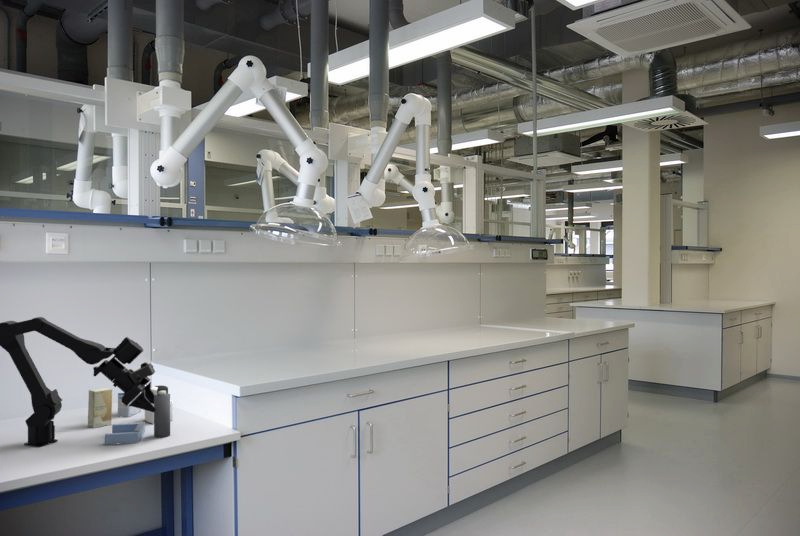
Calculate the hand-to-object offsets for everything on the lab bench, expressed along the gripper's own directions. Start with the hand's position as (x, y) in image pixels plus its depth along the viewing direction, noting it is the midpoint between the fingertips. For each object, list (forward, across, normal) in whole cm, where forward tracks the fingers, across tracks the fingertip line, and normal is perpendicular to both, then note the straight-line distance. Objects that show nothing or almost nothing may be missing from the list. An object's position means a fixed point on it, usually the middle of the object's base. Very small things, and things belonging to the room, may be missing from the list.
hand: (156, 407), depth 189 cm
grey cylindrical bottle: (+8, 0, +5) cm, 9 cm away
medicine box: (-3, +32, +16) cm, 35 cm away
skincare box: (-8, +18, +21) cm, 29 cm away
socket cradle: (-1, 0, +14) cm, 14 cm away
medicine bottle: (+5, +20, +8) cm, 22 cm away
